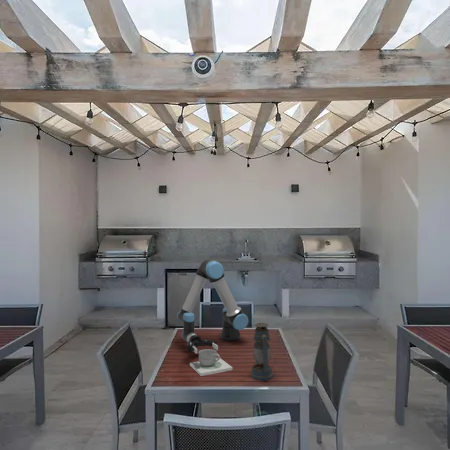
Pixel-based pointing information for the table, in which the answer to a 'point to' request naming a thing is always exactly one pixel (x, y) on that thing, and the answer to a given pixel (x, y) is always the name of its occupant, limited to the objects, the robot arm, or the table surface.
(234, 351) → the table surface
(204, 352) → the teacup
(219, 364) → the record player
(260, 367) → the lantern
